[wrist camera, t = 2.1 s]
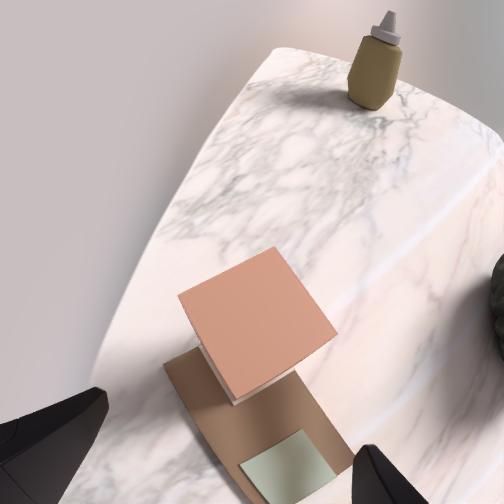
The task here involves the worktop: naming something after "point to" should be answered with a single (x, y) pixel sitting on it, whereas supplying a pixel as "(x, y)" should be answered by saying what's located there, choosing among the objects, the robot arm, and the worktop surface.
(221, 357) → the terracotta block
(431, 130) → the worktop surface
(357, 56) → the squeeze bottle
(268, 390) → the walnut board
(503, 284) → the squash
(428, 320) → the worktop surface
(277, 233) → the worktop surface
